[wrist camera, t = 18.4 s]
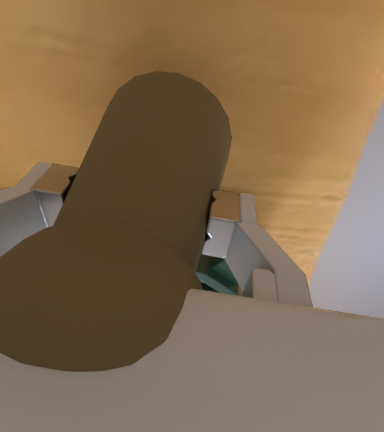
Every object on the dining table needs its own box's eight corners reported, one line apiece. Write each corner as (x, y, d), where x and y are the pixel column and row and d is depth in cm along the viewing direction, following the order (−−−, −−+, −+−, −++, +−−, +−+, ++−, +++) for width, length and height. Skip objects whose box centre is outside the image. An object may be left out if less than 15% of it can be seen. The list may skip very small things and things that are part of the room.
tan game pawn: (201, 44, 10) (94, 323, 2) (247, 172, 14) (266, 458, 6) (78, 104, 13) (-197, 360, 5) (145, 202, 16) (58, 443, 8)
